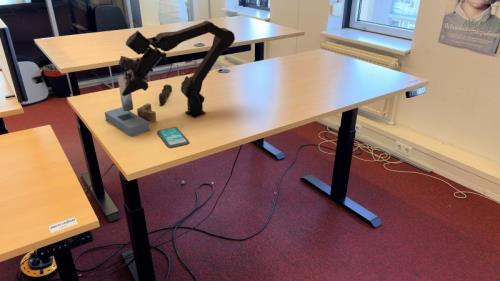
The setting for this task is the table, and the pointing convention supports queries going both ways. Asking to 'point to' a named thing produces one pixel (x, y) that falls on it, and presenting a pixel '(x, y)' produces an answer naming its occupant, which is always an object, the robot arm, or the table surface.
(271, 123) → the table surface
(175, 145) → the smartphone
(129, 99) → the axle
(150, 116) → the v block
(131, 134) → the grey block with hole
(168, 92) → the hand tool
